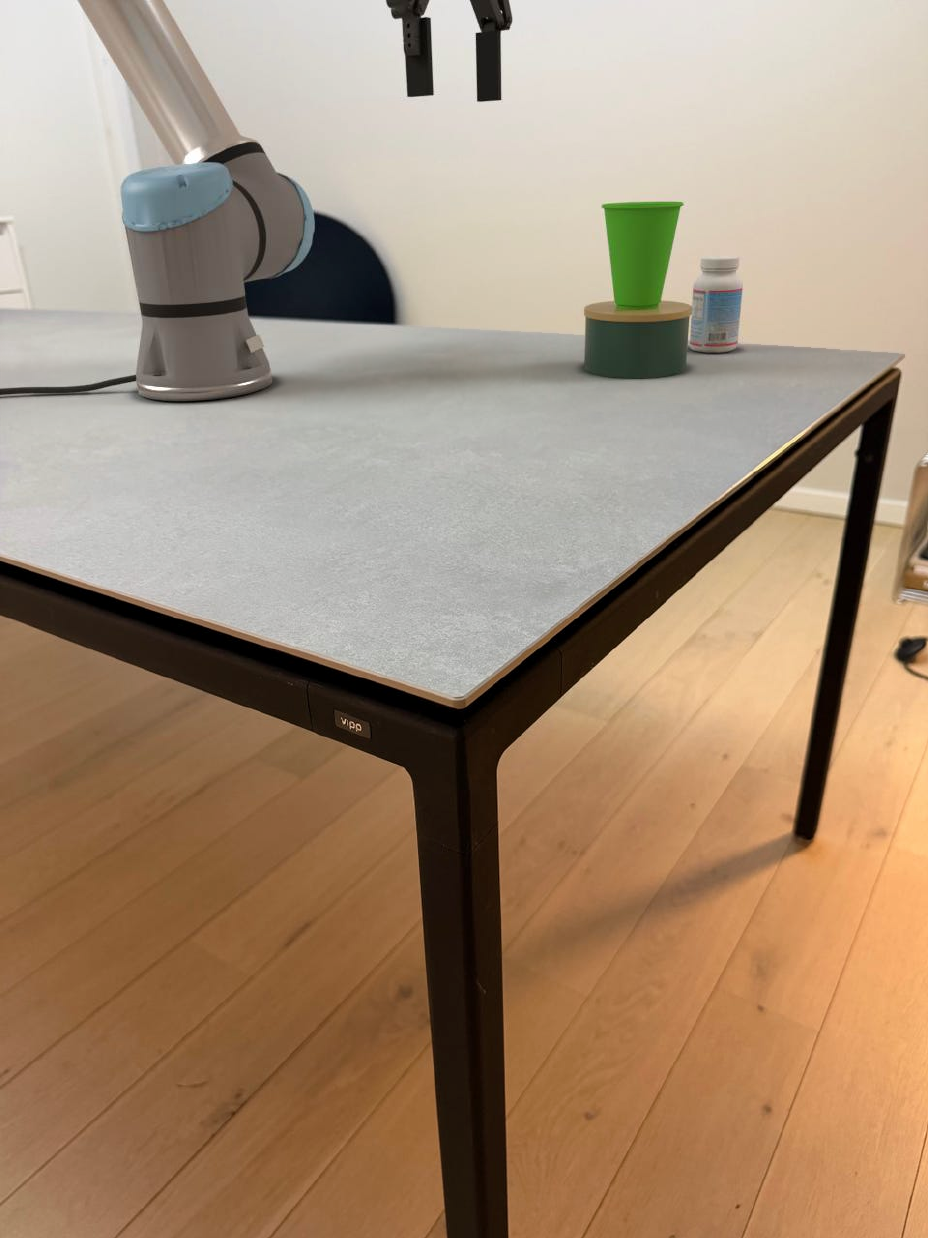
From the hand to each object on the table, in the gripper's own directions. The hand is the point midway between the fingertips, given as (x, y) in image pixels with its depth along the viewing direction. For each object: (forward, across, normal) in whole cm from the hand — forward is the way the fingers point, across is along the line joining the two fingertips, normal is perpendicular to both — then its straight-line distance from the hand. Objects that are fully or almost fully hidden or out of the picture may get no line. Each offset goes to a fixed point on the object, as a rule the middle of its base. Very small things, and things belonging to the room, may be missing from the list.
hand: (456, 98), depth 97 cm
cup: (+22, +12, -17) cm, 30 cm away
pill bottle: (+29, +26, -21) cm, 45 cm away
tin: (+29, +12, -17) cm, 35 cm away
